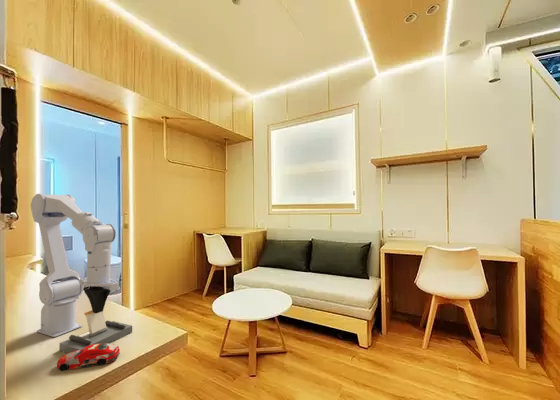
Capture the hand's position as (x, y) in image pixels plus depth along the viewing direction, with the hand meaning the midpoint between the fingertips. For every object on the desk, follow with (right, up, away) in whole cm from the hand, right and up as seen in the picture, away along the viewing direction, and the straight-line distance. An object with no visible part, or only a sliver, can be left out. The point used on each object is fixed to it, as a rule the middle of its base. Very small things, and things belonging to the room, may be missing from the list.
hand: (98, 311), depth 77 cm
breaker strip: (0, -8, 0) cm, 8 cm away
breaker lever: (0, -6, 0) cm, 6 cm away
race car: (+5, -9, -11) cm, 15 cm away
